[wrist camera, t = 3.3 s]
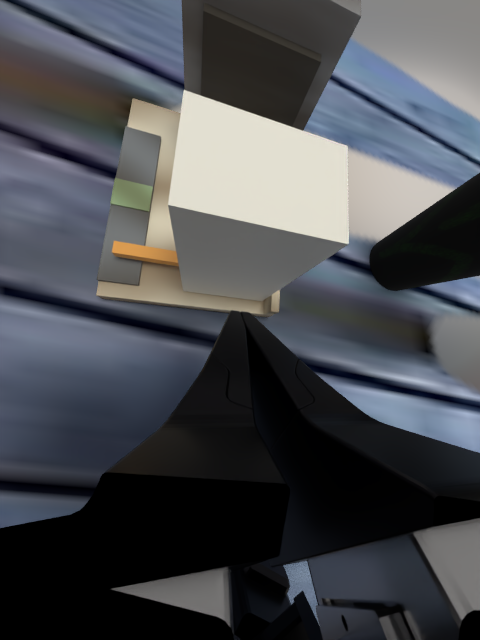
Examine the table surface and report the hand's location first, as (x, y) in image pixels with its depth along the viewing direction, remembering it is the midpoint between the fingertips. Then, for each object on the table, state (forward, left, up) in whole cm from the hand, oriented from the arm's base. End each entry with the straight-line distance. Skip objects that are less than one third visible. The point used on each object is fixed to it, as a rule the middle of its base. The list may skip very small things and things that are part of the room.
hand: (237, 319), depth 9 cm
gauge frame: (+7, +7, -7) cm, 12 cm away
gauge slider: (+3, +4, -6) cm, 8 cm away
